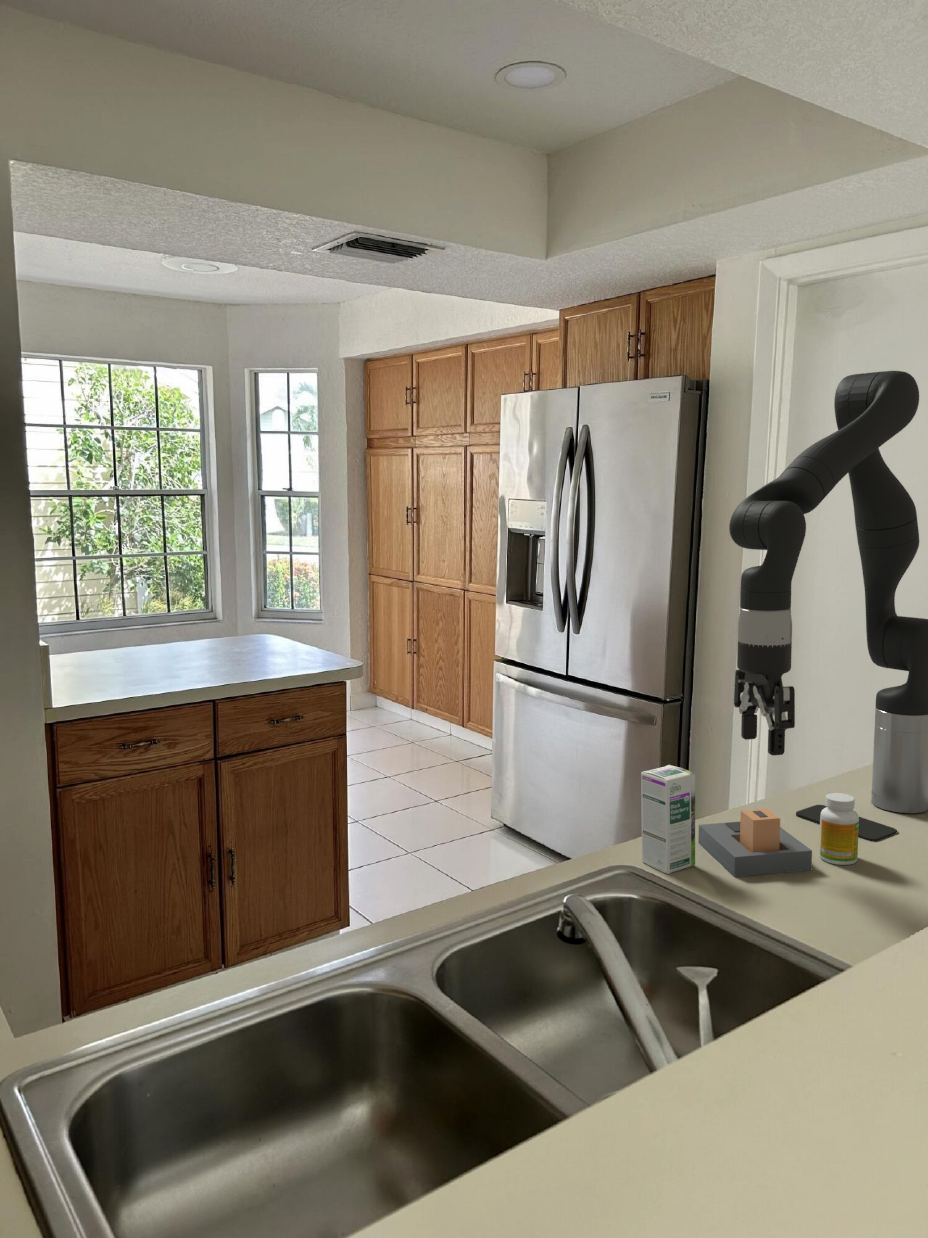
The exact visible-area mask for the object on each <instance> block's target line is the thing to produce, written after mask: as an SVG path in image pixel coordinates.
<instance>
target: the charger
mask: <svg viewBox="0 0 928 1238" xmlns="http://www.w3.org/2000/svg"><path fill="white" fill-rule="evenodd" d="M739 822H740V844H741V845H743V846H744V847H745V848H746V849H747V850H748V851H750V852H751V853H755V852H766V851H778V850H779V843H780V827H781V817H779V816H778V815H776V814H775V813H774V812H772V811H771V810H769V809H768V808H755V809H743V810H740V821H739Z"/></svg>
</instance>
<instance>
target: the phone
mask: <svg viewBox="0 0 928 1238" xmlns="http://www.w3.org/2000/svg"><path fill="white" fill-rule="evenodd" d="M826 807H827V806H826V804H814V805H812V806H809V807H805V808H803V809H800V810H797V811H796V812H795V817H797V818H799V819H802V820H806V821H809V822H810V823H811V822H812V823H814V824H817V825H820V815H821V811H822V810H823V809H824V808H826ZM897 833H898V829H897V828H895V827H892V826H889V825H886V824H882V823H879V822H876V821H874V820H870V819H867V818H865V817H861V816H859V830H858V839H862V840H865V841H867V842H878V841H881V840H884V839H886V838H889V837H892V836H894V835H897Z"/></svg>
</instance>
